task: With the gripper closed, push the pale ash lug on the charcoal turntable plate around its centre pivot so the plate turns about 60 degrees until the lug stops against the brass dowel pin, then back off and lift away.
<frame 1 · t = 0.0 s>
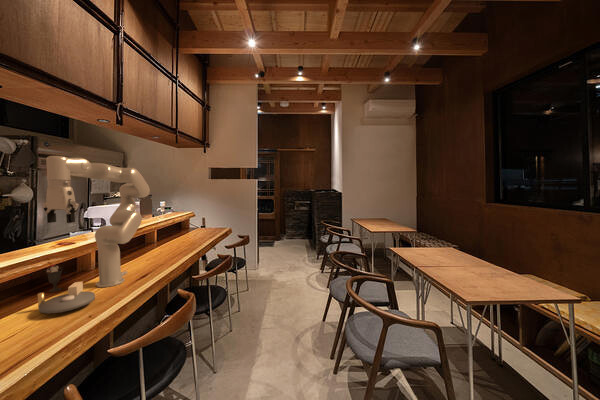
hand: (61, 222, 115), 37 cm above the counter, tool pointing down, fingers open, 9 cm apart
sundae: (55, 290, 131), on the counter
turntable: (70, 296, 112), point 5 cm above the counter, hinge at 0.0°
pivot base: (68, 307, 112), on the counter
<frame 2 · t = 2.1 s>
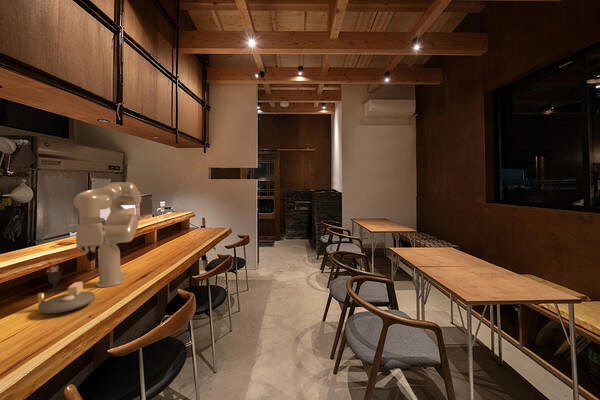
hand: (91, 260, 119), 18 cm above the counter, tool pointing down, fingers closed
nothing on the counter moved.
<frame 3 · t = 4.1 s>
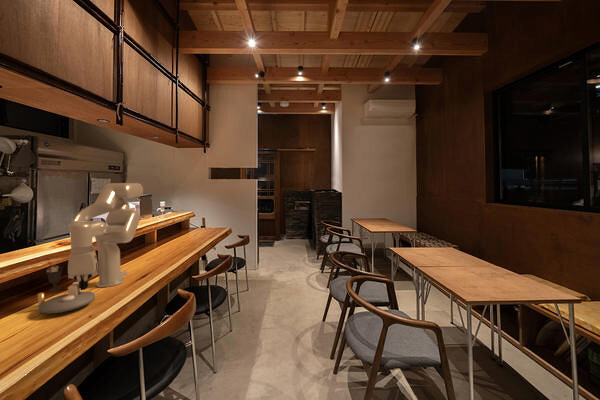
hand: (83, 289, 119), 5 cm above the counter, tool pointing down, fingers closed
turntable: (70, 296, 112), point 5 cm above the counter, hinge at 1.3°, touching gripper
everything else where it was.
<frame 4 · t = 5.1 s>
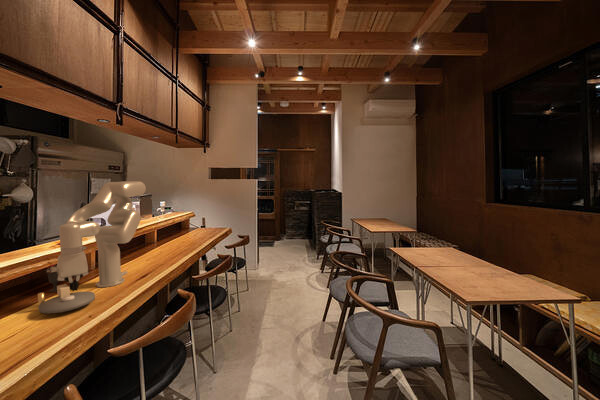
hand: (74, 289, 118), 5 cm above the counter, tool pointing down, fingers closed
turntable: (69, 296, 112), point 5 cm above the counter, hinge at 30.6°, touching gripper
everything else where it was.
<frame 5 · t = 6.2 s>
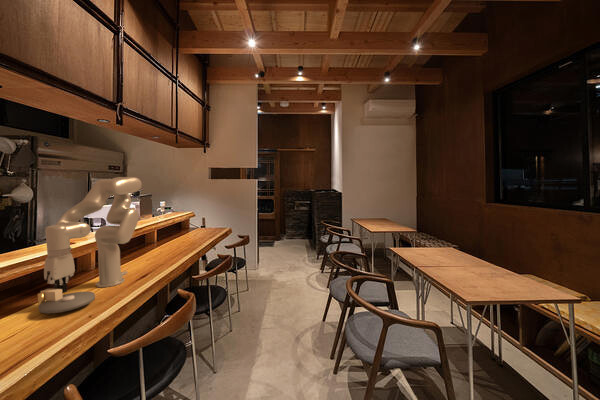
hand: (62, 292, 116), 5 cm above the counter, tool pointing down, fingers closed
turntable: (67, 296, 112), point 5 cm above the counter, hinge at 61.1°, touching gripper, pivot base
everything else where it was.
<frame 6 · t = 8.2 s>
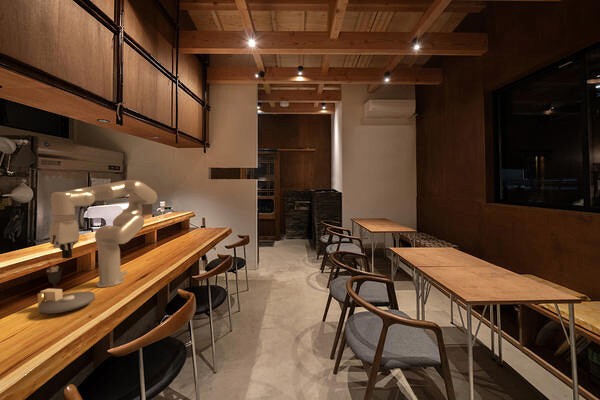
hand: (67, 257, 119), 20 cm above the counter, tool pointing down, fingers closed
turntable: (67, 296, 112), point 5 cm above the counter, hinge at 61.1°
everything else where it was.
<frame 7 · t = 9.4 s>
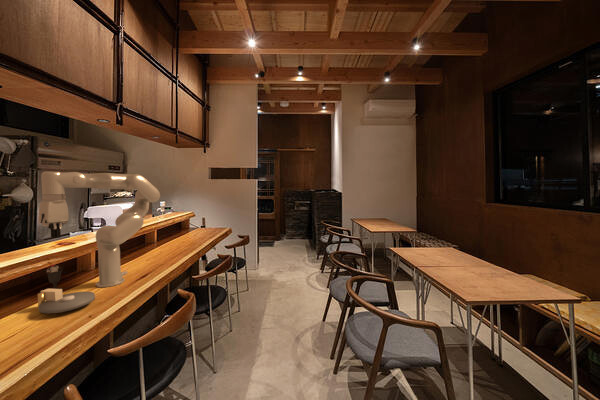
hand: (55, 237, 120), 29 cm above the counter, tool pointing down, fingers closed
nothing on the counter moved.
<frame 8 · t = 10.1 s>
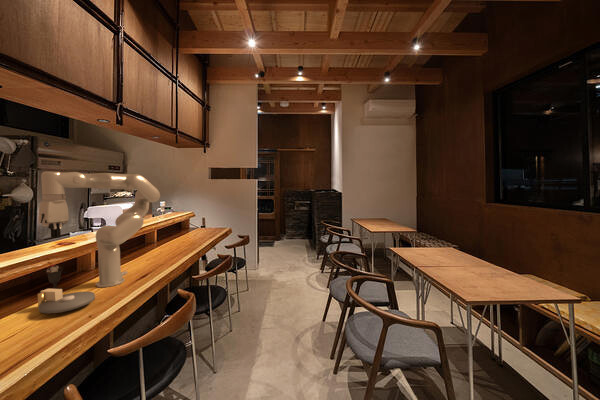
hand: (55, 237, 120), 29 cm above the counter, tool pointing down, fingers closed
nothing on the counter moved.
at the end: turntable at +61° (first picture: +0°); sundae moved 0.2 cm from its start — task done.
